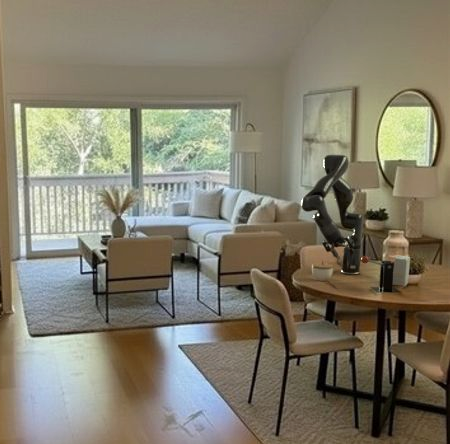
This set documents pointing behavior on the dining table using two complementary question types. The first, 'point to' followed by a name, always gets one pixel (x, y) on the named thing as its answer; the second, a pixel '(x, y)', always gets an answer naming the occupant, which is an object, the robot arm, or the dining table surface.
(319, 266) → the trinket box
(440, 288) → the dining table surface
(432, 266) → the dining table surface
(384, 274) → the bracket
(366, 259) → the lever
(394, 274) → the cosmetic box
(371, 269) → the dining table surface
